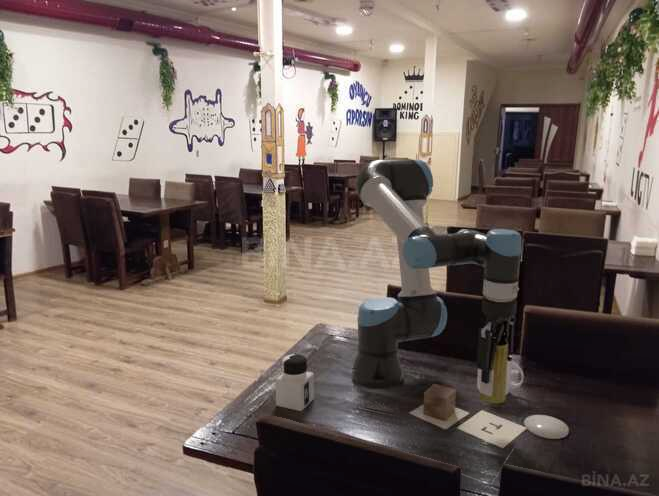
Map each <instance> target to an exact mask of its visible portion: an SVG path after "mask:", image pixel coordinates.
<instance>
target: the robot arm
mask: <svg viewBox="0 0 659 496" xmlns="http://www.w3.org/2000/svg"><path fill="white" fill-rule="evenodd" d="M433 187H434V177H433V173H432V170H431V169H430V166H429V165H428V164H427V163H426V162H425V161H423V160H422V159H416V158H415V159H412V158H404V159H403V158H401V159H399V158H398V159H376V160H372V161H369V162H368V163H366V164H365V165H363V166H362V168H361V169H360V170H359V172H358V173H357V176H356V178H355V192H356V194H357V196H358V198H359V200H360V201H361V202H362V203H363V204H364V205H365V206H366V207H370V208H372V209H373V210H374V212H375V213H376V214H377V215H378V217H380V218H381V220H382V221H383V222H384V223H385V224H386V225H387V226H388V228H389V229H390V230H391V232H393V234H394V235H395V236H396V242H397V253H398V261H399V263H398V264H399V270H400V271H399V273H400V283H401V290H400V292H399V293H398V294H397V299H396V298H395V297H388V296H387V297H386V296H385V297H381V296H379V297H374V298H371V299H367V300H365V301H364V302H363V303H361V304H360V306H359V307H358V312H357V313H358V315H357V338H358V339H357V354H356V357H355V359H354V364H353V365H352V369H351V378H352V380H353V381H354V382H355V383H356V384H358V385H360V386H362V387H365V388H368V389H369V388H370V389H386V388H387V389H388V388H392V387H395V386H397V385H399V384H401V383H402V382H403V380H404V369H403V367H402V365H401V364H402V363H401V361H400V357H399V353H398V352H399V351H398V350H399V347H398V345H399V343H402V342H408V341H415V340H419V339H429V338H431V337H436V336H439V335H440V334H442V332H443V330H444V329H445V327H446V325H447V321H448V311H447V307H446V305H445V302H444V300H443V299H442V298H440V297H439V296H438V295H437V291H436V290H435V289H433V287H432V285H431V276H430V268H440V267H447V266H448V267H449V266H458V265H467V264H475V265H478V266H480V267H483V268H484V271H483V272H484V273H483V285H482V286H483V287H482V295H483V296H482V301H481V311H482V313H483V314H484V316H486V319H485V320H486V321H485V323H484V325H485V326H484V327H483V328H482V327H479V328H478V330H477V333H478V334H477V335H478V345H477V354H476V365H475V367H476V368H477V369H478V368H479V369H481V370H482V371H481V386H480V391H479V392H480V393H482V394H485V395H487V396H490V397H491V396H492V390H493V377H494V370H493V369H492V366H493V362H494V357H495V352H496V346H497V343H498V342H499V343H501V344H503V343H504V342H505V341H507V342H508V354H507V361H513V357H512V356H513V354H514V335H515V324H516V320H517V317H516V314H517V304H518V303H517V302H518V300H517V299H516V298H518V291H519V290H520V287H519V286H518V285H519V279H520V278H519V276H520V266H521V257H522V251H523V250H522V235H521V233H520V232H518V231H516V230H513V229H507V228H506V229H504V228H503V229H501V228H496V229H495V228H494V229H490V230H489V231H488V232H487V233H483V232H480V231H477V230H474V229H465V228H464V229H460V230H459V231H457V232H454V233H445V234H444V233H443V234H437V233H436V232H435V231H434V230H433V229H431V227H430V226H429V225H428V224H427V223H426V222H425V219H424V211H423V210H424V209H423V208H424V206H425V205H426V204H427V202H428V199H427V197H429V196H430V195H431V194H432V191H433ZM493 337H495V338H493ZM509 355H510V356H511V357H509Z"/></svg>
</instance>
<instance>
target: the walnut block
mask: <svg viewBox="0 0 659 496" xmlns="http://www.w3.org/2000/svg"><path fill="white" fill-rule="evenodd" d="M456 394H457V389H454V388H450V387H447V386H443V385H440V384H437V383H433V384H432V385H431V386H429V388H427V390H425V391H424V392H423V404H424V412H423V414H424V415H427V416H430V417H433V418H436V419H439V420H443V421H446V420H447V419H448V418H449V417H450V416H451V415H452V414H453V413H454V412H455V407H456V398H457V396H456Z"/></svg>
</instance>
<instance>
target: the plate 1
mask: <svg viewBox="0 0 659 496" xmlns="http://www.w3.org/2000/svg"><path fill="white" fill-rule="evenodd" d="M423 412H424V403H423V404H422V405H420V406H417V408H415V409H413V410H412V411H410V412H409V414H410V415H412V416H414V417H417V418H418V419H421V420H423V421H426V422H428V423H431V424H433V425H435V426H437V427H438V428H442V429H443V430H448V429H449V428H450V427H451V426H453V425H454V424H456V423H457V422H459V421H460V420H462V419H463V418H464V417H466V416H467V415H469V414H470V412H468V411H466V410H463V409H461V408H459V407H456V406H455V412H454V413H453V414H452V415H451V416H450V417H449V418H448V419H447V420H446V421H443V420H439V419H436V418H433V417H430V416H427V415H424V414H423Z"/></svg>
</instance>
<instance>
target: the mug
mask: <svg viewBox="0 0 659 496" xmlns="http://www.w3.org/2000/svg"><path fill="white" fill-rule="evenodd" d="M509 357H512V356H510V355H509ZM512 369H514V370H517V372H519V373H520V375H521V378H520V379H521V380H520V381H519V382H518V383H513V382H511V371H512ZM481 371H482V370H481V369H479V368H477V379H476V380H477V383H476V385H477V389H478V391H479V392H480V386H481ZM524 375H525V374H524V372H523V369H522V367H521V366H520V365H518V364H517V363H516V362H514V361H513V360H511V361H507V372H506V389H505V396H507V395H508V394H509V393H510V390H516V389H518V388H519V387H521V385H522V384H523V381H524V377H525V376H524Z"/></svg>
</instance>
